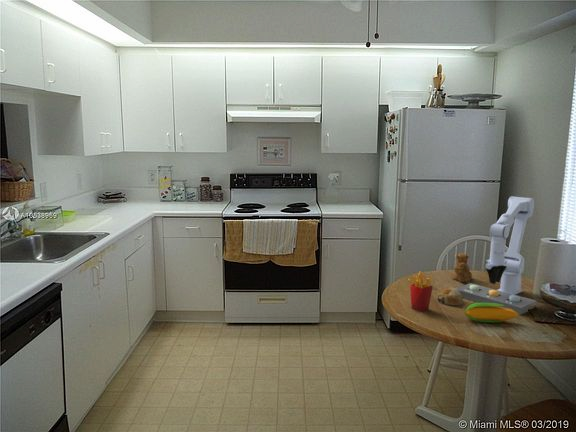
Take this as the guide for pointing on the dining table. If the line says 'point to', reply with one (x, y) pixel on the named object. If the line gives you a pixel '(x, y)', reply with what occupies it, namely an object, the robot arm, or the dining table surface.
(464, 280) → the stuffed squirrel
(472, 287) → the green button
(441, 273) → the dining table surface
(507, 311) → the corn
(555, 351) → the dining table surface
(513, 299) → the blue button
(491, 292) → the orange button
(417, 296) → the french fries
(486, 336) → the dining table surface
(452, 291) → the bread roll
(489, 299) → the button console
